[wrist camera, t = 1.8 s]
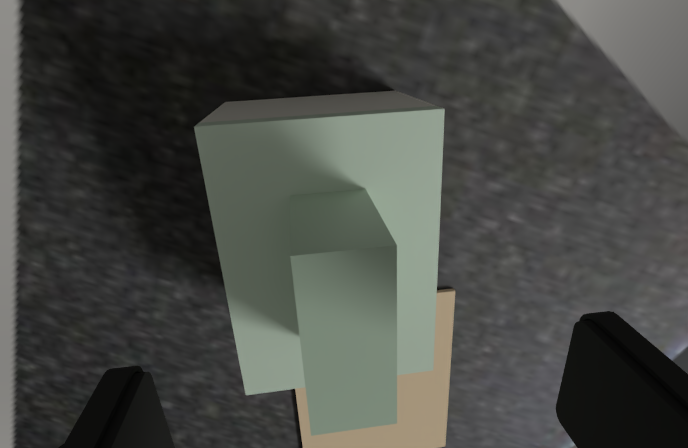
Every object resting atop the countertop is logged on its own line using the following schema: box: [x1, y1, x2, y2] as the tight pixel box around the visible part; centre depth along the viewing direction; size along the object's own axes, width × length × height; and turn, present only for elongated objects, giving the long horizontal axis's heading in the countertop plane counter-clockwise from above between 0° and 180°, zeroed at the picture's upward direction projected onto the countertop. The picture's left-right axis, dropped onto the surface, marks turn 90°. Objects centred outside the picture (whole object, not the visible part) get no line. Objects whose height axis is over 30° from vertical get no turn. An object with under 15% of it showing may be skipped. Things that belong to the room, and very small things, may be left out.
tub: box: [199, 91, 436, 123], centre depth 19 cm, size 11×8×6 cm
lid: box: [194, 106, 445, 436], centre depth 14 cm, size 11×8×6 cm
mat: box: [295, 288, 455, 448], centre depth 26 cm, size 13×10×1 cm
